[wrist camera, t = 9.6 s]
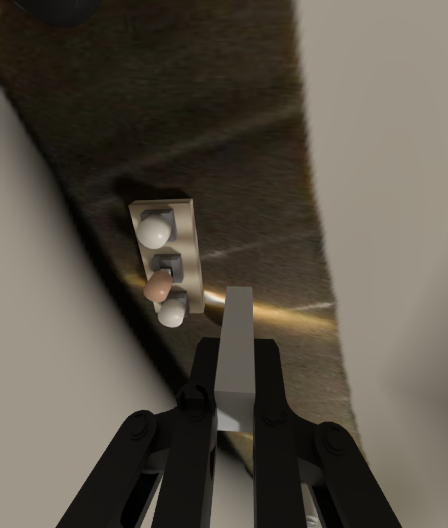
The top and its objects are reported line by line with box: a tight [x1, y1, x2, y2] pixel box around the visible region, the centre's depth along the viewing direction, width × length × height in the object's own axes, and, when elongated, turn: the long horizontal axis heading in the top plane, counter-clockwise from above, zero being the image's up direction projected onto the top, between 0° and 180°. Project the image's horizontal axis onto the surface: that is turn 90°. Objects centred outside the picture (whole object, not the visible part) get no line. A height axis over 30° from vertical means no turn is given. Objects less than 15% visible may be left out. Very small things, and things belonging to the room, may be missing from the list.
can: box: [301, 482, 318, 527], centre depth 97 cm, size 8×8×12 cm
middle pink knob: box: [144, 269, 173, 302], centre depth 44 cm, size 4×4×6 cm
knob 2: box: [158, 299, 186, 327], centre depth 51 cm, size 5×5×5 cm
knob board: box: [128, 199, 205, 318], centre depth 49 cm, size 25×11×6 cm, turn 3°
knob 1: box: [137, 214, 172, 249], centre depth 42 cm, size 5×5×5 cm
